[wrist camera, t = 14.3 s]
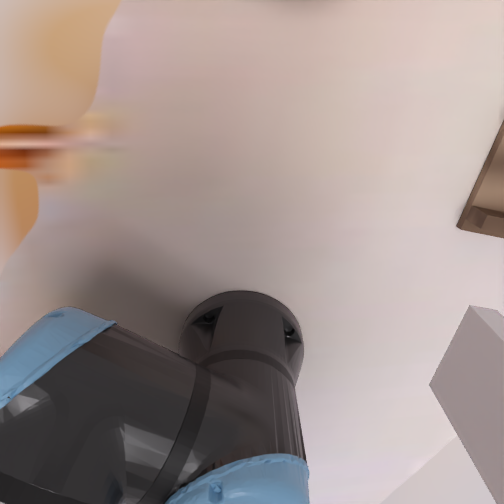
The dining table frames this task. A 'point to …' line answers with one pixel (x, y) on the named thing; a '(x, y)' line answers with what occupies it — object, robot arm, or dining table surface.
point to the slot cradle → (487, 195)
